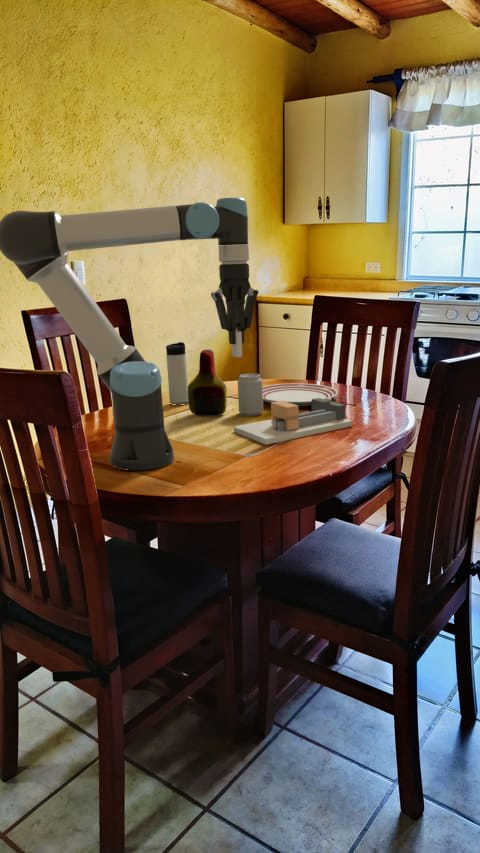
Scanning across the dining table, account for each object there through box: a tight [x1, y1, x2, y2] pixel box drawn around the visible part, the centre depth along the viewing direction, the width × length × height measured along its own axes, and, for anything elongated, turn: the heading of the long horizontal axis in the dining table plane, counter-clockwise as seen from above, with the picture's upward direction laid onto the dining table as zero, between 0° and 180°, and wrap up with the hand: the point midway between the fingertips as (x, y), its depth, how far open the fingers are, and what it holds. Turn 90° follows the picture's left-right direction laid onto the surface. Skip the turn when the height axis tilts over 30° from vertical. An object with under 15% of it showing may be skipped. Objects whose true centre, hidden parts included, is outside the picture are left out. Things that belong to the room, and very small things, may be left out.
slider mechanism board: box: [233, 398, 353, 445], centre depth 183 cm, size 28×16×6 cm, turn 121°
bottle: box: [188, 349, 228, 417], centre depth 201 cm, size 12×6×20 cm, turn 77°
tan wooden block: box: [270, 401, 300, 430], centre depth 179 cm, size 4×8×6 cm, turn 31°
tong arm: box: [273, 409, 327, 429], centre depth 183 cm, size 17×2×2 cm, turn 121°
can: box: [237, 373, 264, 417], centre depth 202 cm, size 8×8×12 cm
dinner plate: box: [262, 382, 339, 407], centre depth 219 cm, size 27×27×3 cm
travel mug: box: [165, 341, 189, 405], centre depth 218 cm, size 6×7×20 cm
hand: (237, 356), depth 173 cm, fingers closed
